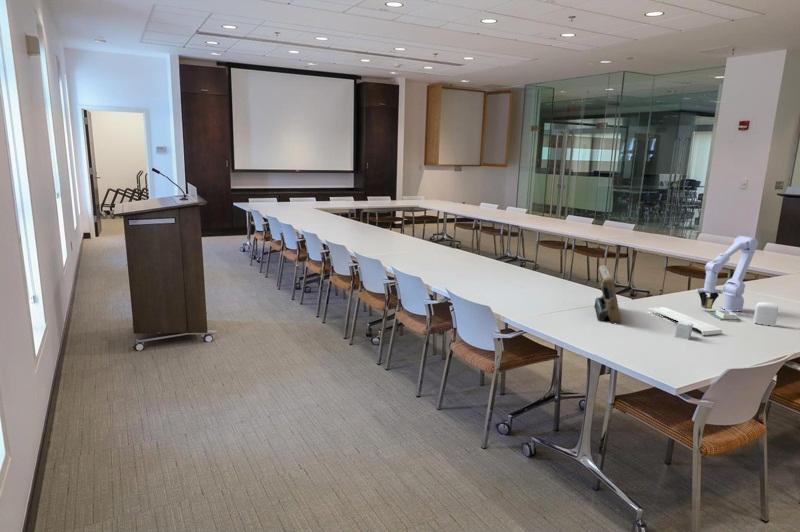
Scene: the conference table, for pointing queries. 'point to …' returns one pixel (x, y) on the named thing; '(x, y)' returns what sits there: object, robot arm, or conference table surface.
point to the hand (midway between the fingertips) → (706, 305)
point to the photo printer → (766, 313)
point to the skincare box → (684, 329)
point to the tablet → (607, 297)
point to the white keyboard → (677, 316)
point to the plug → (708, 303)
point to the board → (724, 315)
